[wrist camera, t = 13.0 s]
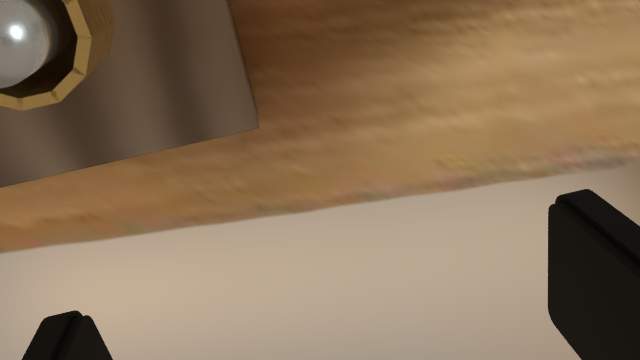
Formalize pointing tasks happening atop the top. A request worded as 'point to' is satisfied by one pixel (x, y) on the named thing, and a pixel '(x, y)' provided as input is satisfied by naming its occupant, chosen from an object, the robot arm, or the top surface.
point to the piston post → (32, 37)
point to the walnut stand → (137, 93)
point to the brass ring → (92, 49)
